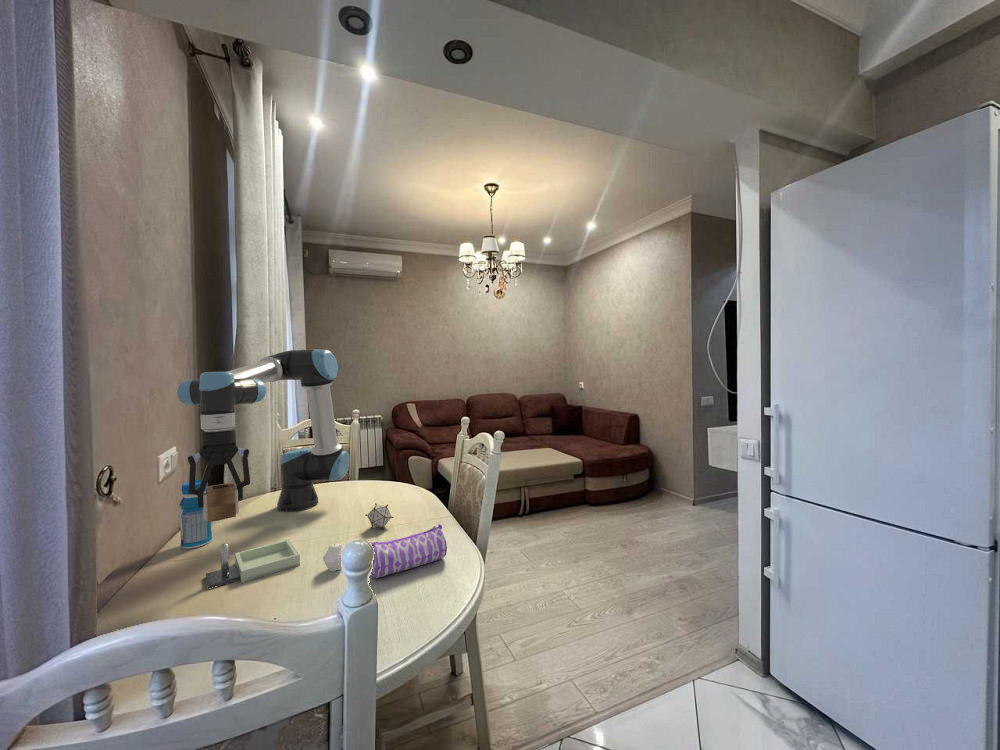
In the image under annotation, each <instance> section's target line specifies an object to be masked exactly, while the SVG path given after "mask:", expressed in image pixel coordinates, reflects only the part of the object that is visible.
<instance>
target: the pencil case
mask: <svg viewBox="0 0 1000 750" xmlns="http://www.w3.org/2000/svg"><path fill="white" fill-rule="evenodd" d="M437 525H438V526H436V525H434V526H432V528H428V529H426V530H424V531H422V532H418V533H414V534H411V535H408V536H405V537H401V538H397V539H393V540H392V539H391V540H388V541H373V542H370V541H369V543H371V544H372V546H373V548H374V552H375V554H374V560H373V569H372V572H371V573H370V574H371V576H372V579H373V578H374V579H378V578H383V577H385V576H388V575H391V574H396V573H400V572H403V571H407V570H410V569H413V568H417V567H419V566H422V565H423V566H424V565H426V564H430V563H432V562H435V561H440V560H442V559H444V558H445V557H446V556H447V553H448V552H447V551H448V543H447V540H446V538H445V535H444V533H443V531H442V529H443V525H442V524H441V523H438V524H437Z"/></svg>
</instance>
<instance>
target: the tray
mask: <svg viewBox="0 0 1000 750" xmlns="http://www.w3.org/2000/svg"><path fill="white" fill-rule="evenodd" d="M300 556H301V555H300V552H298V550H297V549H296V547H295V546H294V545H293V543H292V542H291V540H290V539H285V540H281V541H277V542H273V543H269V544H265V545H262V546H258V547H254V548H249V549H245V550H242V551H239V552H235V553H234V561H235V562H234V563H235V565H237V567H238V570H239V573H240V579H241V580H240V582H241V583H245V581H246V582H248V581H251V580H255V579H259V578H261V577H266V576H269V575H272V574H275V573H274V572H276V573H278V571H279V572H282V571H286V570H289V569H292V568H295V567H298V566H300V565H301V559H300V558H301V557H300ZM285 569H286V570H285ZM271 573H272V574H271ZM268 574H269V575H268ZM265 575H266V576H265Z"/></svg>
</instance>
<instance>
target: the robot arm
mask: <svg viewBox="0 0 1000 750" xmlns="http://www.w3.org/2000/svg"><path fill="white" fill-rule="evenodd" d="M338 371H339V366H338V361H337V359H336V357H335V355H334V354H333V353H332V352H331V351H330V350H328V349H319V348H316V349H315V348H314V349H313V348H312V349H297V350H296V349H292V350H285V351H282V352H278V353H275V354H272V355H267V356H266V357H262V358H261V359H260V360H259V361H258V362H255V363H252V364H251V363H250V364H248V365H245V366H240V367H237V368H235V369H231V370H228V371H206V372H202V373H200V375H199V379H196V378H193V379H186V380H182V381H181V382H180V383H179V385H178V386H177V389H176V394H177V398H178V400H179V402H180V403H182V405H183V404H184V405H188V406H189V405H190V406H195V407H197V406H200V429H201V430H202V431H201V433H200V437H201V438H200V440H201V441H200V443H201V448H200V450H199V452H198V453H194V454H188V455H187V457H186V458H187V461H188V464H189V475H188V476H189V478H188V479H189V480H188V482H189V494H190V495H192V494H193V495H197V496H198V507H199V508H201V507H203V509H204V521H205V520H208V513H207V493H204V490H205V487H206V485H207V482H208V481H209V478H210V476H211V472H212V469H213V467H214V466H218V465H227V468H228V469H229V471H230V475H231V476H232V478H233V481H234V483H235V503H236V515H238V514H239V501H242V500H243V499H244V494H243V492H244V490H243V489H244V487H246V486H249V485H250V484H251V479H250V477H251V476H250V469H249V459H248V457H249V454H250V450H249V449H248V448H247V447H246V448H241V447H239V446H238V445H237V439H236V438H237V436H236V435H237V434H236V432H237V431H236V429H235V427H236V411H235V410H236V409H235V406H237V405H238V406H239V405H247V404H248V405H252V404H255V403H259V402H261V401H263V399H264V398H265V396H266V395H267V394H266V393H267V388H266V385H265V383H275V382H278V381H300V386H301V387H302V388H303V389H304V390H305V391H306V396H307V397H306V398H307V404H308V410H309V418H310V424H311V431H312V438H313V444H314V446H313V448H312V447H303V448H297V449H293V450H289V451H286V452H284V453H282V454H281V457H280V479H281V481H280V482H281V483H280V484H281V490H280V494H279V497H278V499H277V503H276V507H277V508H276V509H277V510H278V511H279V512H285V513H286V512H287V513H288V512H290V513H291V512H299V511H304V510H307V509H312V508H314V507H315V506H317V505H318V504H319V496H318V493H317V492H316V489H315V486H314V482H315V481H316V482H318V481H319V482H320V481H321V482H323V481H324V482H325V481H326V482H327V481H330V482H333V481H340V480H342V479H344V477H345V476H346V475H347V473H348V471H349V467H350V459H351V458H350V454H349V452H348V451H346V450H343V445H342V444H341V443H339V442H338V435H337V428H336V421H335V415H334V406H333V399H332V392H331V386H332V384H334V379H335V378H337V376H338ZM236 454H238V456H240V458H241V465H242V466H241V467H242V474H243V480H242V481H241V479H240V476H239V474H238V472H237V469H236V467H235V465H234V462H233V458H234V457H235V456H236ZM200 458H202V459H203V460H204V461H205V462H206V465H205V467H204V468H205V469H204V470H203V474H202V476H201V479H200V480H201V482H200V485H199V488H198V489H195V481H196V478H197V477H196V476H197V475H196V473H197V463H198V462H200V461H199V459H200Z"/></svg>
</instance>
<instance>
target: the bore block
mask: <svg viewBox="0 0 1000 750" xmlns="http://www.w3.org/2000/svg"><path fill="white" fill-rule="evenodd" d="M235 488H236V485H235V484H234V482H233V481H232V482H225V483H220V484H215V485H208V486H207V487H206V493H207V513H208V522H211V523H213V522H217V521H221V520H222V521H223V520H225V519H231V518H236V517H237V514H236V503H235Z"/></svg>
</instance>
